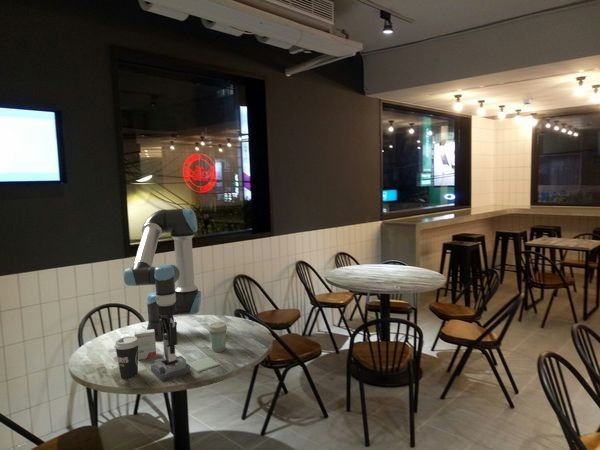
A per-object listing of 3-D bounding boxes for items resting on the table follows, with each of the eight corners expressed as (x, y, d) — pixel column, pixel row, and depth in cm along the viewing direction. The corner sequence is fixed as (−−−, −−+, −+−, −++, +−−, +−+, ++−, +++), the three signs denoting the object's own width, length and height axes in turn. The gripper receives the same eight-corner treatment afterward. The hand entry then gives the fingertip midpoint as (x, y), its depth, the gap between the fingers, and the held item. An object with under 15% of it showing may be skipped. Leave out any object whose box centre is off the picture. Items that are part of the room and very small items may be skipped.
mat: (187, 364, 183) (186, 363, 183) (208, 358, 190) (208, 356, 189) (197, 372, 176) (197, 370, 176) (219, 365, 182) (218, 363, 182)
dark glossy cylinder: (163, 366, 177) (161, 333, 175) (173, 363, 179) (170, 331, 178) (167, 369, 174) (165, 336, 172) (177, 366, 176) (174, 333, 175)
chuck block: (151, 371, 178) (150, 361, 177) (178, 363, 185) (178, 353, 185) (162, 381, 168) (161, 370, 168) (190, 372, 176) (190, 361, 175)
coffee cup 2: (224, 354, 193) (222, 328, 192) (206, 353, 195) (205, 327, 194) (230, 346, 202) (229, 322, 200) (213, 345, 203) (212, 321, 202)
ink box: (156, 353, 197) (154, 328, 196) (156, 357, 192) (154, 331, 191) (136, 355, 194) (134, 330, 193) (136, 360, 190) (134, 334, 188)
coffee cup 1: (121, 370, 179) (118, 336, 178) (144, 369, 180) (141, 334, 179) (113, 381, 170) (110, 345, 168) (137, 379, 171) (135, 343, 169)
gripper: (149, 301, 178) (153, 355, 180) (165, 310, 165) (169, 368, 167) (167, 297, 183) (170, 350, 185) (183, 306, 169) (187, 362, 172)
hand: (169, 358), depth 176 cm, fingers closed on dark glossy cylinder, 4 cm apart
